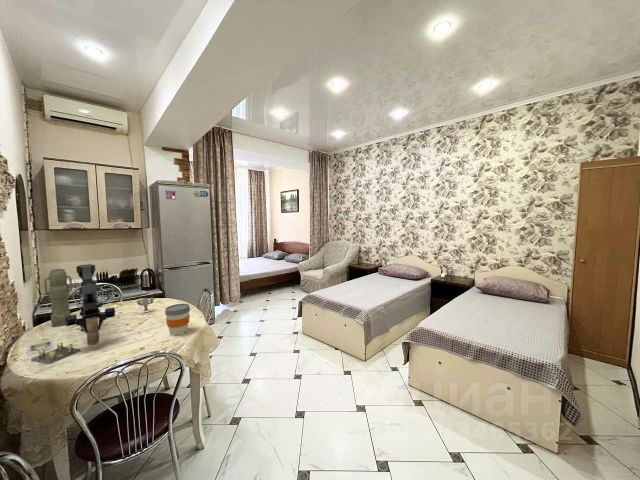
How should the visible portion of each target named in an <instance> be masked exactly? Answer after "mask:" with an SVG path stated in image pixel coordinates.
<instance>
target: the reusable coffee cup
mask: <svg viewBox="0 0 640 480" xmlns="http://www.w3.org/2000/svg"><path fill="white" fill-rule="evenodd" d="M164 310H165V311H164V313H165V321H166V325H167V328H168V332H169V335H170V336H172V335H178V336H180V335H179V334H182V333H184V332H186V331H187V332H188V329H189V328H188V327H189V323H190V315H191V314H190V311H191V309H190V304H189V303H176V304H172V305H168V306H167V307H165V309H164ZM187 332H186V333H187ZM184 334H185V333H184ZM182 335H183V334H182Z"/></svg>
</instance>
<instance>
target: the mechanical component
mask: <svg viewBox="0 0 640 480" xmlns="http://www.w3.org/2000/svg"><path fill="white" fill-rule="evenodd" d="M154 299H155V298H154V297H150V299H149V298H142V299H138V300H137V301H136V304H137V305H138V306H140V307H143V308H144V312H145V311H148V307H149V305H151V304H153V303H154Z"/></svg>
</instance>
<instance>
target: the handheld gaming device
mask: <svg viewBox="0 0 640 480" xmlns="http://www.w3.org/2000/svg"><path fill="white" fill-rule="evenodd" d="M42 349H45V352H49V351H52V350H54V339H49V340H46V341H43V342H42V341H41V342H38V343H33V344H28V346H27V350H26V355H28V356H31V354H32V355H36V354H39V350H42ZM26 355H25V356H26Z"/></svg>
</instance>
